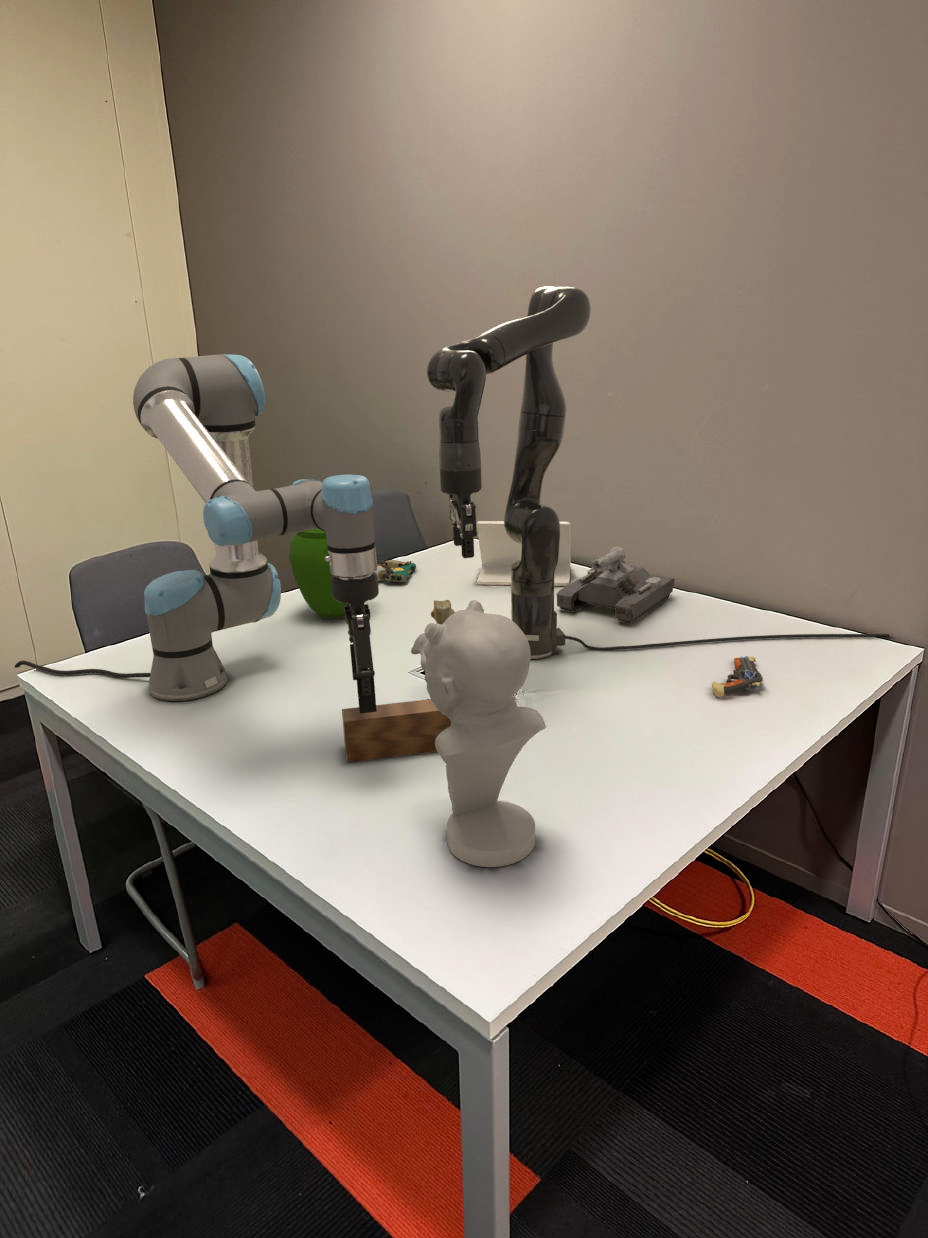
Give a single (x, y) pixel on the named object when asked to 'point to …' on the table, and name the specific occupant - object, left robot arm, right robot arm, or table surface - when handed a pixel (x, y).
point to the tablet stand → (514, 554)
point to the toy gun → (739, 677)
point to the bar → (392, 730)
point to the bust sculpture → (481, 729)
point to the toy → (616, 588)
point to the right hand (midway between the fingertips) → (463, 551)
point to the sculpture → (441, 611)
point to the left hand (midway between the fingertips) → (364, 694)
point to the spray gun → (394, 570)
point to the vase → (314, 573)
